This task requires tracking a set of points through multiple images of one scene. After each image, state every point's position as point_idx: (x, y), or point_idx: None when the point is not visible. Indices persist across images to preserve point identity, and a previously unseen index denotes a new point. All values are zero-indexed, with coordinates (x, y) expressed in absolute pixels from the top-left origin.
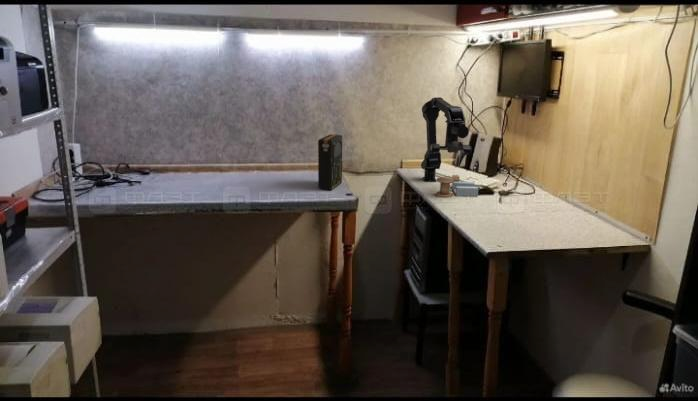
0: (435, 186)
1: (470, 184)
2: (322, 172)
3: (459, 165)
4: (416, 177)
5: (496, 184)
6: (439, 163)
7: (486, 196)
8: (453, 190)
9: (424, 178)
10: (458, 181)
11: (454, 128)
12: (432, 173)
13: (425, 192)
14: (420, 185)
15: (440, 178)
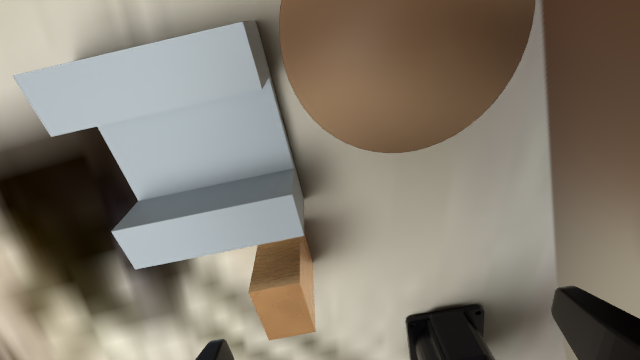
0: (419, 232)
1: (149, 219)
2: None
3: (205, 352)
4: (510, 353)
5: (54, 357)
6: (616, 313)
7: (4, 88)
8: (292, 160)
9: (479, 332)
10: (260, 262)
11: None
12: (456, 358)
13: (521, 61)
14: (520, 226)
15: (472, 74)
